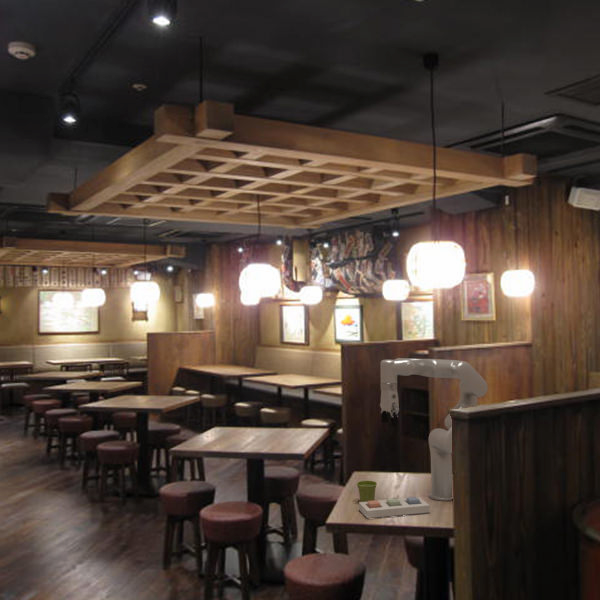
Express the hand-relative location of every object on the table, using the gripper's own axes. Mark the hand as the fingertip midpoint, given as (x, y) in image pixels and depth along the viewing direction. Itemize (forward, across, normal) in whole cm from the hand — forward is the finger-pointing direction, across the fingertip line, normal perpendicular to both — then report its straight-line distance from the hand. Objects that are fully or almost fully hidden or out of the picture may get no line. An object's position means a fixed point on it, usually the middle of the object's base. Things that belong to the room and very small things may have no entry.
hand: (389, 424), depth 274 cm
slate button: (+34, -13, -5) cm, 36 cm away
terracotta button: (+34, -11, +13) cm, 38 cm away
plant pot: (+36, +4, +9) cm, 37 cm away
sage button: (+34, -12, +4) cm, 36 cm away
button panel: (+36, -12, +4) cm, 38 cm away
